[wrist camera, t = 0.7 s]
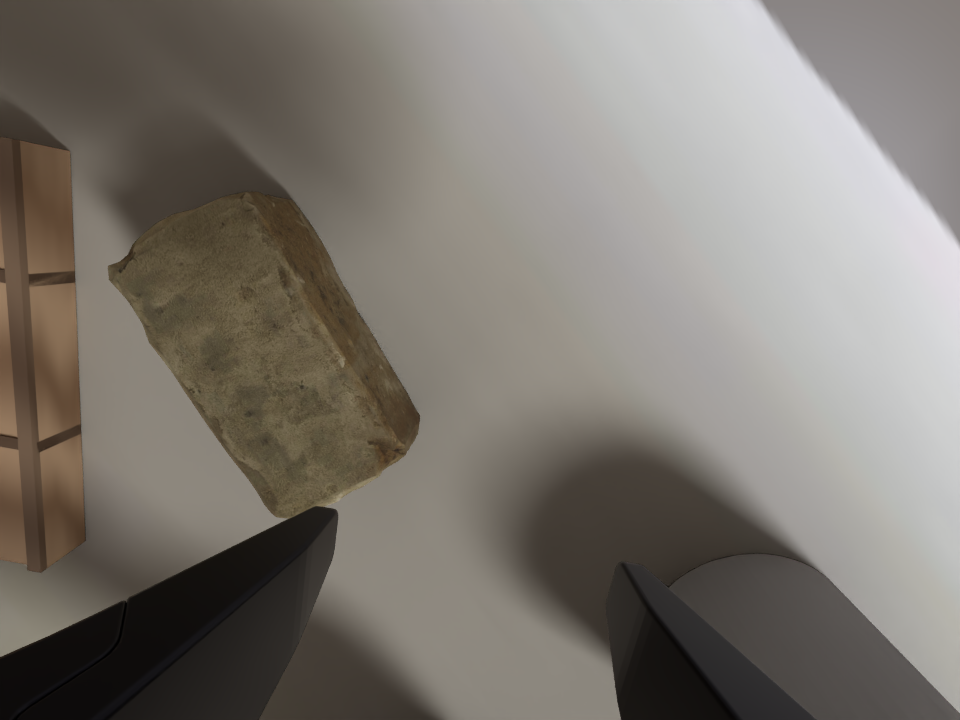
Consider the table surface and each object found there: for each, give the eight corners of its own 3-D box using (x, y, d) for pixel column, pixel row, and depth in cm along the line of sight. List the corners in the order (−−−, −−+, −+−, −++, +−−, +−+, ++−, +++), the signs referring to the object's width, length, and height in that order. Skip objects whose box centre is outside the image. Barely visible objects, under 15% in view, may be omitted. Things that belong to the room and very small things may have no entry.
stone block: (326, 475, 22) (275, 540, 17) (179, 252, 20) (73, 254, 15) (434, 420, 21) (412, 473, 16) (291, 181, 19) (218, 159, 14)
